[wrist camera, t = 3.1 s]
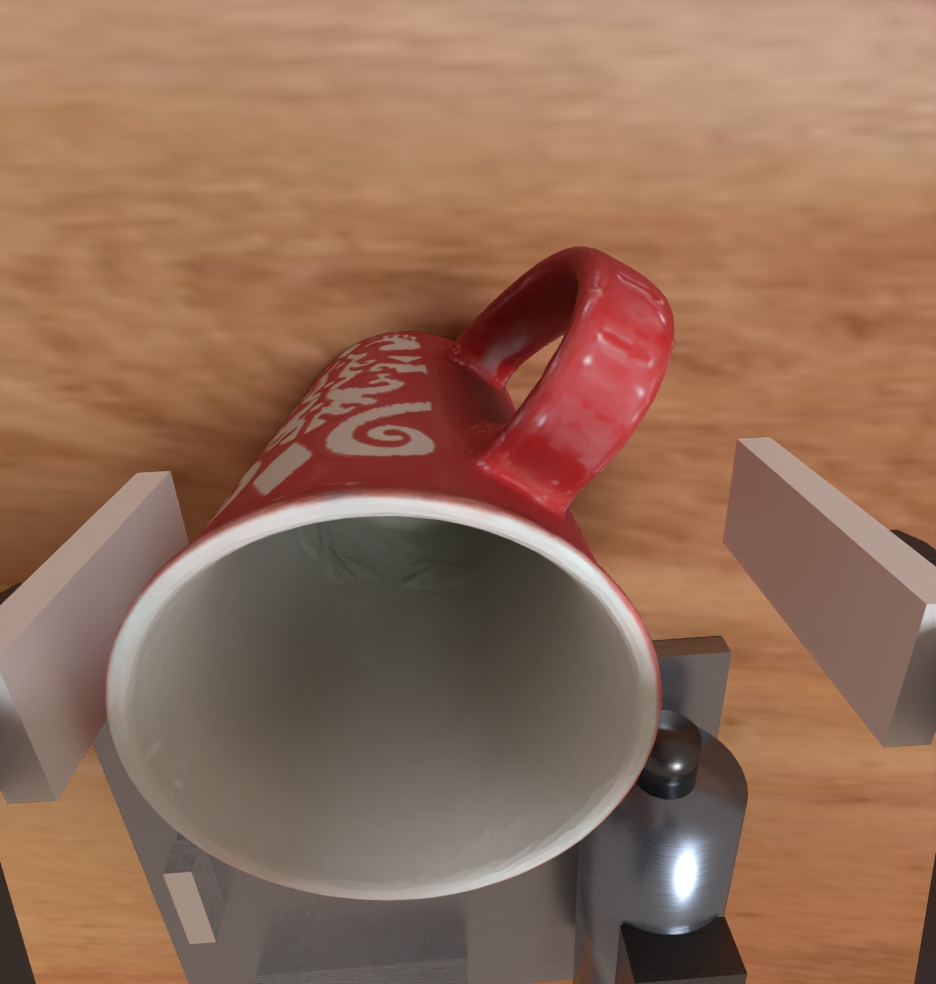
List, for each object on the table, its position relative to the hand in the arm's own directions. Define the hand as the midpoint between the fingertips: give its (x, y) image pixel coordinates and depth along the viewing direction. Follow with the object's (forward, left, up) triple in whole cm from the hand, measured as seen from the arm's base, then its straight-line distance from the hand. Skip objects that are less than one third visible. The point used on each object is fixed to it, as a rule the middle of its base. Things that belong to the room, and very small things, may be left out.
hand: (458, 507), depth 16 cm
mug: (0, 0, -8) cm, 8 cm away
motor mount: (-2, -22, -8) cm, 23 cm away
